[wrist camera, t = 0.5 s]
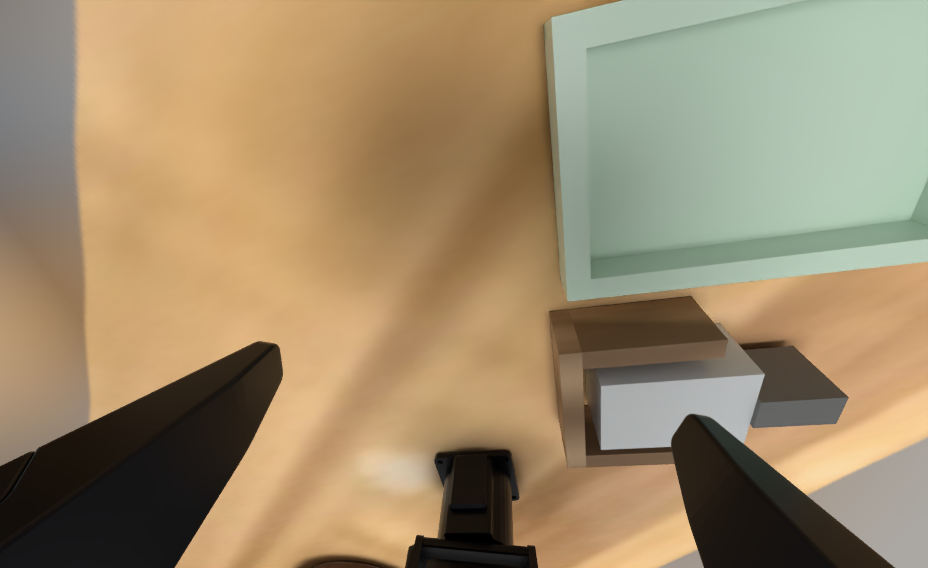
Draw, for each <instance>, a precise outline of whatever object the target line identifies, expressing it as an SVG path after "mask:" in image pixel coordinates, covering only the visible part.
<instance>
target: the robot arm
mask: <svg viewBox="0 0 928 568" xmlns="http://www.w3.org/2000/svg"><path fill="white" fill-rule="evenodd" d="M282 376H283V368H282V361H281V354H280V348H279V346H278V345H277V344H274V343H268V342H262V341H258V342H255V343H253V344H251V345H249V346H247V347H245V348H242V349H240V350H238V351H236V352H234V353H232V354H230V355H228V356H226V357H224V358H222V359H220V360H218V361H216V362H214V363H212V364H210V365H208V366H205V367H203V368H201V369H199V370H197V371H195V372H193V373H191V374H189V375H187V376H185V377H183V378H181V379H179V380H177V381H175V382H173V383H171V384H168V385H166V386H164V387H162V388H160V389H158V390H156V391H154V392H152V393H150V394H148V395H146V396H144V397H142V398H140V399H138V400H136V401H134V402H131V403H129V404H127V405H125V406H123V407H121V408H119V409H117V410H115V411H113V412H111V413H109V414H107V415H105V416H103V417H101V418H99V419H97V420H94V421H92V422H90V423H88V424H86V425H84V426H82V427H80V428H78V429H76V430H74V431H72V432H70V433H68V434H66V435H64V436H62V437H60V438H57V439H55V440H53V441H51V442H49V443H47V444H45V445H43V446H41V447H39V448H38V449H37V450H36V451H35V452H34V451H32V452H28V453H26V454H24V455H22V456H20V457H18V458H16V459H14V460H12V461H10V462H8V463H6V464H4V465H2V466H0V568H175V566H176V565H177V563H178V561H179V560H180V558H181V556H182V555H183V553H184V552H185V550H186V548H187V547H188V545H189V544H190V542H191V540H192V539H193V537H194V536H195V534H196V532H197V531H198V529H199V528H200V526H201V524H202V523H203V521H204V519H205V518H206V516H207V515H208V513H209V511H210V510H211V508H212V507H213V505H214V503H215V502H216V500H217V499H218V497H219V495H220V494H221V492H222V490H223V489H224V487H225V486H226V484H227V482H228V481H229V479H230V478H231V476H232V474H233V473H234V471H235V470H236V468H237V466H238V465H239V463H240V461H241V460H242V458H243V457H244V455H245V453H246V451H247V450H248V448H249V446H250V444H251V442H252V440H253V438H254V436H255V434H256V432H257V430H258V428H259V426H260V424H261V422H262V420H263V418H264V416H265V414H266V412H267V410H268V408H269V406H270V404H271V402H272V399H273V397H274V395H275V393H276V391H277V389H278V387H279V385H280V383H281V380H282ZM671 450H672V454H673V458H674V463H675V467H676V471H677V475H678V480H679V484H680V488H681V492H682V497H683V501H684V505H685V509H686V513H687V517H688V520H689V524H690V527H691V530H692V533H693V536H694V539H695V542H696V545H697V548H698V551H699V554H700V557H701V560H702V563H703V566H704V568H895V567H893V566H892V565H891V564H890V563H888V562H887V561H886V560H885V559H884V558H882V557H881V556H880V555H879V554H878V553H876V552H875V551H874V550H873V549H871V548H870V547H869V546H868V545H867V544H865V543H864V542H863V541H862V540H860V539H859V538H858V537H857V536H855V535H854V534H853V533H852V532H850V531H849V530H848V529H847V528H846V527H844V526H843V525H842V524H841V523H840V522H838V521H837V520H836V519H835V518H834V517H832V516H831V515H830V514H828V513H827V512H826V511H825V510H824V509H823V508H821V507H820V506H819V505H818V504H816V503H815V502H814V501H813V500H812V499H810V498H809V497H808V496H807V495H805V494H804V493H803V492H802V491H801V490H799V489H798V488H797V487H796V486H794V485H793V484H792V483H791V482H790V481H788V480H787V479H786V478H785V477H783V476H782V475H781V474H780V473H779V472H777V471H776V470H775V469H774V468H772V467H771V466H770V465H769V464H768V463H766V462H765V461H764V460H763V459H761V458H760V457H759V456H758V455H757V454H755V453H754V452H753V451H752V450H750V449H749V448H748V447H747V446H746V445H744V444H743V443H742V442H741V441H739V440H738V439H737V438H736V437H735V436H733V435H732V434H731V433H730V432H728V431H727V430H726V429H725V428H724V427H722V426H721V425H720V424H719V423H717V422H716V421H715V420H714V419H712V418H711V417H708V416H704V415H698V414H689V415H687V416H686V417H685V418H684V420H683V421H682V423H681V424H680V426H679V427H678V429H677V430H676V432H675V433H674V435H673V436H672V439H671ZM435 465H436V468H437V470H438V473H439V476H440V478H441V481H442V484H443V487H444V491H443V499H442V507H441V515H440V523H439V530H438V538H427V537H424V536H422V535H417V536H416V540H415V544H414V545H412V546H410V547H409V550H408V555H407V561H406V566H405V568H538V564H537V557H536V549H535V546H530V545H527V547H525V546H514V545H513V521H512V501H515V500H518V499H519V490H518V485H517V480H516V474H515V469H514V464H513V459H512V454H511V453H510V452H508V451H492V452H471V453H450V454H437V455H436V456H435Z"/></svg>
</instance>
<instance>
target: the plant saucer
mask: <svg viewBox="0 0 928 568" xmlns="http://www.w3.org/2000/svg"><path fill="white" fill-rule="evenodd" d="M313 568H380V567H377V566H374V565H369V564H364V563H358V562H348V561H336V562H328V563H323V564H320V565H317V566H314V567H313Z"/></svg>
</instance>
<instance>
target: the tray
mask: <svg viewBox="0 0 928 568" xmlns="http://www.w3.org/2000/svg"><path fill="white" fill-rule="evenodd" d="M543 26H544V41H545V56H546V71H547V86H548V101H549V116H550V131H551V147H552V162H553V177H554V192H555V207H556V222H557V237H558V252H559V267H560V279H561V282H562V285H563V288H564V292H565V295H566V298H567V301H568V302H570V301H579V300H588V299H597V298H606V297H615V296H624V295H632V294H641V293H650V292H659V291H668V290H677V289H686V288H695V287H704V286H713V285H722V284H731V283H740V282H749V281H758V280H767V279H776V278H785V277H794V276H803V275H812V274H821V273H830V272H839V271H848V270H857V269H866V268H875V267H884V266H893V265H902V264H911V263H920V262H928V0H622V1H618V2H614V3H610V4H605V5H601V6H597V7H593V8H589V9H584V10H580V11H576V12H572V13H568V14H563V15H559V16H555V17H551V18H550V19H549V20H548V21H547V22H546V23H545V24H544V25H543Z"/></svg>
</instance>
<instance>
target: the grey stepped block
mask: <svg viewBox="0 0 928 568" xmlns="http://www.w3.org/2000/svg"><path fill="white" fill-rule="evenodd" d="M714 324H715V325H716V326H717V327H718V328H719V329H720V331H721V332H722V333H723V334H724V335H725V336H726V338H727V339H728V344H727V348H726V353H725V357H724V358H718V359H706V360H694V361H681V362H669V363H657V364H644V365H632V366H620V367H607V368H595V369H585V379H586V397H587V401H588V405H589V408H590V412H591V416H592V419H593V423H594V426H595V430H596V434H597V437H598V441H599V445H600V448H601V450H610V449H633V448H655V447H671V439H672V436H673V435H674V433H675V432H676V430H677V429H678V427H679V426H680V424H681V423H682V421H683V420H684V418H685V417H686V416H687V415H689V414H698V415H704V416H708V417H711V418H712V419H714V420H715V421H716V422H717V423H719V424H720V425H721V426H722V427H724V428H725V429H726V430H727V431H728V432H730V433H731V434H732V435H733V436H735V437H736V438H737V439H738V440H739V441H741V442H742V443H743V444H744V441H745V438H746V435H747V432H748V428H749V425H750V424H751V426H752V427H753V428H763V427H783V426H802V425H822V424H836V423H837V421H838V419H839V417H840V415H841V413H842V411H843V408H844V406H845V404H846V402H847V400H848V398H849V397H848V396H847V395H846V394H844V393H843V392H842V391H841V390H840V389H839V388H838V387H837V386H836V385H835V384H834V383H833V382H831V381H830V380H829V379H828V378H827V377H826V376H825V375H824V374H823V373H822V372H821V371H820V370H818V369H817V368H816V367H815V366H814V365H813V364H812V363H811V362H810V361H809V360H808V359H807V358H805V357H804V356H803V355H802V354H801V353H800V352H799V351H798V350H797V349H796V348H795V347H794V346H787V347H774V348H762V349H750V350H743V349H742V348H741V347H740V346H739V345H738V343H737V342H736V341H735V340H734V339H733V338H732V337H731V336H730V334H729V333H728V332H727V331H726V330H725V329H724V328H723V327H722V325H721V324H720V323H714Z"/></svg>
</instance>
